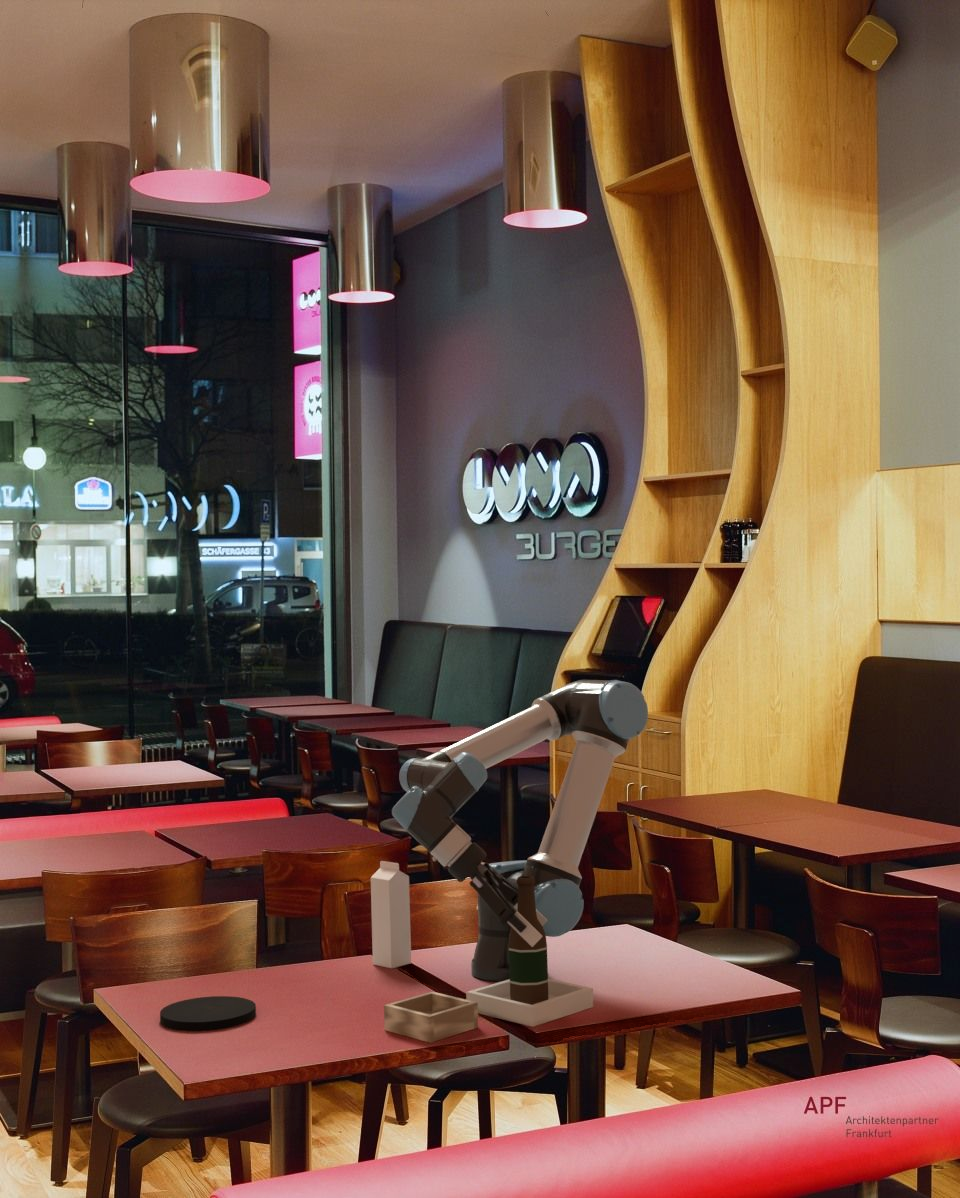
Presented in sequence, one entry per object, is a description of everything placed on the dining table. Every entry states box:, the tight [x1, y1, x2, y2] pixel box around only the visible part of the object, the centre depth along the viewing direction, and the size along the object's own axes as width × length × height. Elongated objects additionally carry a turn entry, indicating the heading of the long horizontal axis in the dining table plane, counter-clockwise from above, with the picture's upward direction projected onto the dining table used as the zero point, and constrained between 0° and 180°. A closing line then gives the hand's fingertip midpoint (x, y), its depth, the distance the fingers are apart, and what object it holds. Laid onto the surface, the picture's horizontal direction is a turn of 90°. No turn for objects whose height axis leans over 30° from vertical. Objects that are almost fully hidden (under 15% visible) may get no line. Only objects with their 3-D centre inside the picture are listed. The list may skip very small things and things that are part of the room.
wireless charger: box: [159, 995, 257, 1032], centre depth 266 cm, size 18×18×2 cm
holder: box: [383, 991, 479, 1043], centre depth 255 cm, size 12×12×4 cm
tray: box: [465, 978, 594, 1028], centre depth 266 cm, size 17×17×4 cm
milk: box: [370, 860, 412, 969], centre depth 304 cm, size 6×6×22 cm
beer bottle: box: [509, 876, 549, 1005], centre depth 266 cm, size 8×8×24 cm
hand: (540, 933), depth 266 cm, fingers open, 13 cm apart
